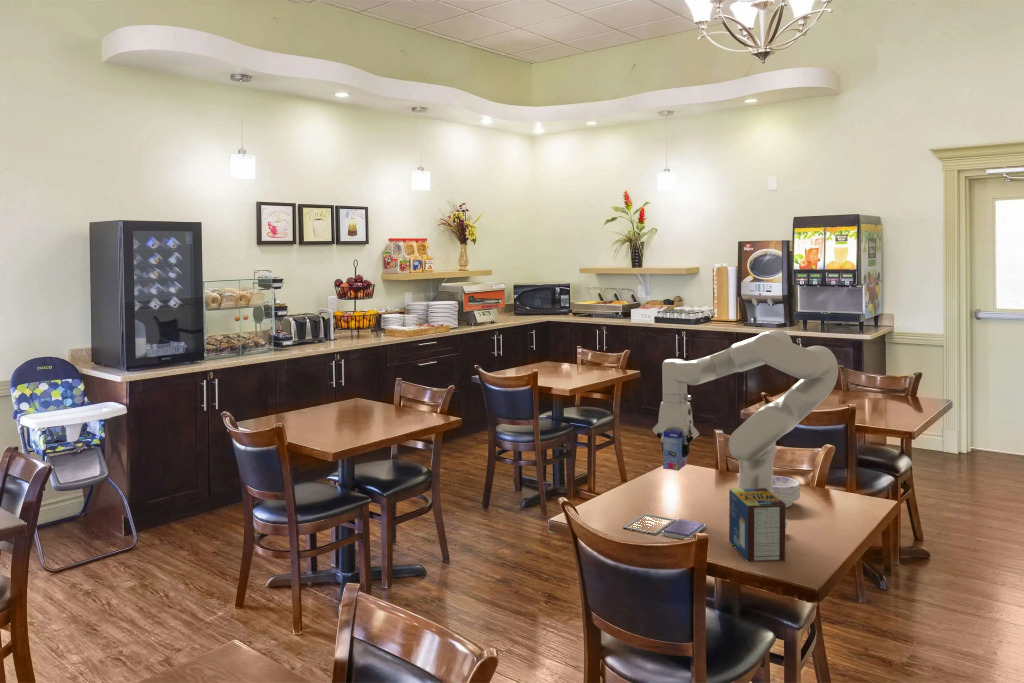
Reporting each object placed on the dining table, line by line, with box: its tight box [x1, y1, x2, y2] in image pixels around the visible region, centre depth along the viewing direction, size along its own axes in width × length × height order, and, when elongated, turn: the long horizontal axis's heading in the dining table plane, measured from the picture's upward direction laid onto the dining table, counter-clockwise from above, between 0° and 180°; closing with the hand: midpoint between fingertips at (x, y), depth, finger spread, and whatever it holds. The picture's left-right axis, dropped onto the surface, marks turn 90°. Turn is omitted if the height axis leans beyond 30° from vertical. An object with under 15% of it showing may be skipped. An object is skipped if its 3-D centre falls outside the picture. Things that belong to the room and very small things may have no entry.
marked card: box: [622, 513, 677, 535], centre depth 232 cm, size 11×15×1 cm
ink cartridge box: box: [662, 429, 688, 472], centre depth 241 cm, size 10×6×14 cm, turn 152°
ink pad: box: [661, 518, 707, 540], centre depth 226 cm, size 9×13×2 cm
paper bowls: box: [773, 475, 801, 508], centre depth 250 cm, size 15×15×8 cm
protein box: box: [728, 488, 787, 562], centre depth 209 cm, size 10×15×16 cm
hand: (675, 454), depth 242 cm, fingers closed on ink cartridge box, 5 cm apart
